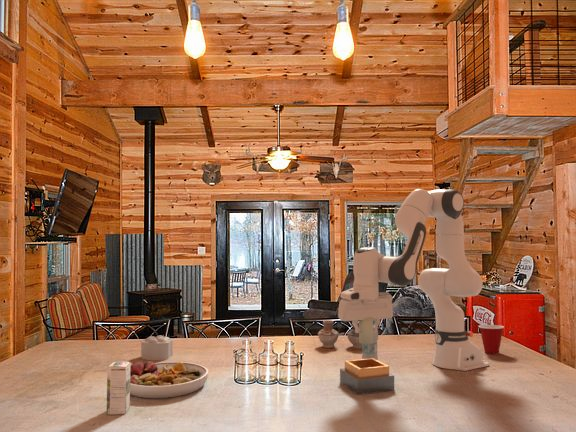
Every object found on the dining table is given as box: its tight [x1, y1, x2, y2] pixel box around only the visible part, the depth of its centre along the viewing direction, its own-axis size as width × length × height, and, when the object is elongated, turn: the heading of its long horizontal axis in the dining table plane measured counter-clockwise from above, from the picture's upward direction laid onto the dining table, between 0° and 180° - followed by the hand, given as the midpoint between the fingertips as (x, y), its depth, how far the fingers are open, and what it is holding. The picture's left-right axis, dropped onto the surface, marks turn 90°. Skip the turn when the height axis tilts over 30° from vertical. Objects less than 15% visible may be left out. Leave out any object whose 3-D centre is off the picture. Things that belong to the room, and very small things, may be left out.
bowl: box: [130, 360, 209, 399], centre depth 180 cm, size 30×30×8 cm
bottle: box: [361, 319, 379, 361], centre depth 200 cm, size 7×7×20 cm
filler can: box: [358, 318, 374, 344], centre depth 179 cm, size 5×5×11 cm
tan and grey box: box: [339, 358, 395, 395], centre depth 179 cm, size 14×14×8 cm
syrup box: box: [106, 361, 132, 416], centre depth 156 cm, size 6×6×14 cm
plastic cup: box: [478, 324, 505, 355], centre depth 226 cm, size 11×11×12 cm
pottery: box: [317, 320, 362, 350], centre depth 237 cm, size 11×25×12 cm, turn 86°
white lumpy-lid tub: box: [140, 335, 174, 361], centre depth 220 cm, size 10×13×9 cm
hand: (366, 332), depth 179 cm, fingers closed on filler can, 5 cm apart
